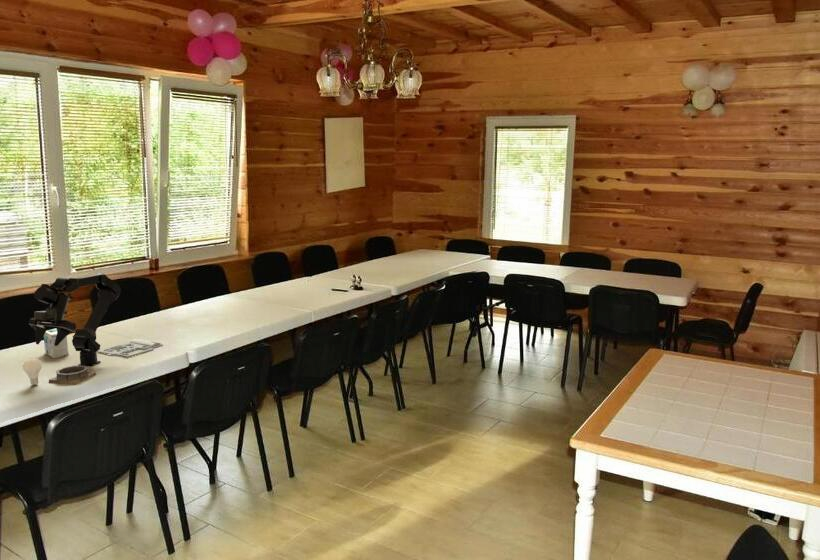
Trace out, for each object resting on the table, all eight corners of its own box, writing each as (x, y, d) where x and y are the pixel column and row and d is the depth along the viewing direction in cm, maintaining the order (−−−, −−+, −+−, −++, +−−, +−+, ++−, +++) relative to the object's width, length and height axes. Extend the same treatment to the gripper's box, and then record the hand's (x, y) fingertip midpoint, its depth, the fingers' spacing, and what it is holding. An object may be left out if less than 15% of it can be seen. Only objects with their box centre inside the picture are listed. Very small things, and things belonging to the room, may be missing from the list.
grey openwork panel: (139, 336, 314) (167, 341, 304) (139, 341, 315) (168, 347, 305) (96, 348, 294) (125, 354, 284) (96, 353, 295) (125, 359, 285)
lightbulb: (35, 388, 249) (32, 361, 247) (21, 387, 250) (18, 360, 248) (47, 382, 255) (44, 356, 253) (33, 381, 256) (30, 355, 254)
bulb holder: (70, 372, 267) (70, 364, 266) (96, 374, 264) (95, 366, 264) (48, 382, 255) (47, 373, 255) (75, 384, 253) (74, 375, 252)
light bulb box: (44, 353, 294) (42, 330, 292) (60, 350, 299) (58, 327, 297) (53, 358, 287) (50, 334, 285) (69, 354, 291) (66, 331, 289)
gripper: (23, 300, 256) (11, 338, 251) (61, 302, 250) (49, 342, 246) (45, 308, 266) (33, 345, 261) (82, 310, 260) (71, 348, 256)
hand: (46, 345), depth 256 cm, fingers open, 9 cm apart
